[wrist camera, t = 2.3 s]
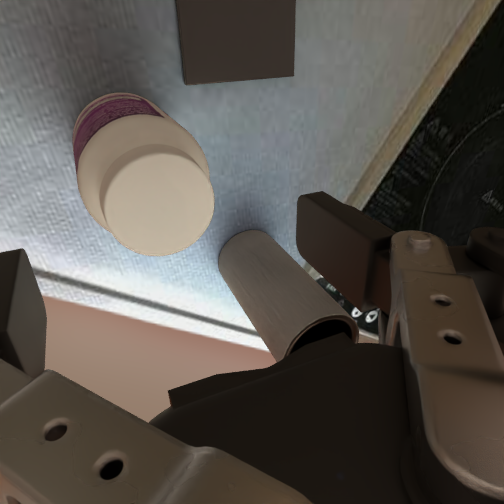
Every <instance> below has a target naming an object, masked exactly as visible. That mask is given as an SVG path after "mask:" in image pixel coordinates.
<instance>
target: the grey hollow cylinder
mask: <svg viewBox="0 0 504 504" xmlns="http://www.w3.org/2000/svg"><path fill="white" fill-rule="evenodd" d="M218 266H219V271H220V273H221V275H222V277H223V279H224V281H225V282H226V284H227V285H228V287H229V288H230V290H231V291H232V293H233V295H234V296H235V298H236V299H237V301H238V302H239V304H240V305H241V307H242V309H243V310H244V312H245V313H246V315H247V316H248V318H249V319H250V321H251V323H252V324H253V326H254V327H255V329H256V330H257V332H258V333H259V335H260V337H261V338H262V340H263V341H264V343H265V344H266V346H267V347H268V349H269V351H270V352H271V354H272V355H273V357H274V358H275V360H276V361H277V362H279V361H280V360H282V359H283V358H285V357H287V356H288V355H290V354H291V353H293V352H295V351H296V350H298V349H300V348H301V347H303V346H304V345H306V344H309V343H312V342H315V341H318V340H321V339H324V338H327V337H330V336H333V335H336V334H339V333H342V332H344V333H345V334H346V335H347V336H348V337H349V338H350V339H351V340H352V341H353V342H354V343H358V340H359V329H358V326H357V324H356V322H355V321H354V320H353V318H352V317H351V316H350V315H349V314H348V313H347V312H346V311H345V310H344V309H343V308H342V307H341V306H340V305H339V304H338V303H337V302H336V301H335V300H334V299H333V298H332V297H331V296H330V295H329V294H328V293H327V292H326V291H325V290H324V289H323V288H322V287H321V286H320V285H319V284H318V283H317V282H316V281H315V280H314V279H313V278H312V277H311V276H310V275H309V274H308V273H307V272H306V271H305V270H304V269H303V268H302V267H301V266H300V265H299V264H298V263H297V262H296V261H295V260H294V259H293V258H292V257H291V256H290V255H289V254H288V253H287V252H286V251H285V250H284V249H283V248H282V247H281V246H280V245H279V244H278V243H277V242H276V241H275V240H274V239H273V238H272V237H270V236H269V235H268V234H267V233H265V232H262V231H259V230H248V231H244V232H241V233H239V234H237V235H235V236H234V237H232V238H231V239H230V240H229V241H228V242H227V243H226V244H225V246H224V247H223V249H222V251H221V253H220V256H219V261H218Z"/></svg>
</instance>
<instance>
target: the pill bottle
mask: <svg viewBox="0 0 504 504" xmlns="http://www.w3.org/2000/svg"><path fill="white" fill-rule="evenodd" d="M73 152H74V159H75V166H76V174H77V183H78V189H79V192H80V195H81V198H82V200H83V203H84V205H85V207H86V208H87V210H88V212H89V213H90V215H91V216H92V217H93V218H94V219H95V221H96V222H97V223H98V224H100V225H101V226H102V227H103V228H105V229H106V230H107V231H109V232H111V233H112V234H113V236H114V237H115V238H116V239H117V240H118V241H119V242H120V243H121V244H122V245H123V246H125V247H126V248H128V249H130V250H132V251H134V252H136V253H139V254H143V255H148V256H165V255H170V254H173V253H176V252H179V251H182V250H184V249H186V248H187V247H189V246H191V245H192V244H193V243H194V242H196V241H197V240H198V239H199V238H200V237H201V235H202V234H203V233H204V232H205V230H206V229H207V227H208V226H209V224H210V221H211V219H212V216H213V212H214V204H215V203H214V192H213V188H212V185H211V182H210V176H209V168H208V163H207V160H206V158H205V155H204V153H203V151H202V149H201V147H200V146H199V144H198V143H197V141H196V140H195V139H194V137H193V136H192V135H191V134H190V133H189V132H188V131H187V130H186V129H184V128H183V127H182V126H180V125H179V124H178V123H177V122H176V121H174V120H173V119H172V118H170V117H169V116H168V115H167V114H166V113H165V112H164V111H162V110H161V109H159V108H158V107H157V106H156V105H155V104H153V103H152V102H150V101H149V100H147V99H145V98H143V97H141V96H138V95H135V94H131V93H120V92H119V93H111V94H107V95H104V96H101V97H99V98H97V99H95V100H94V101H92V102H91V103H90V104H88V105H87V106H86V107H85V108H84V109H83V111H82V112H81V113H80V115H79V117H78V119H77V121H76V123H75V127H74V131H73Z"/></svg>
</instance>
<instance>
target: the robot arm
mask: <svg viewBox="0 0 504 504" xmlns="http://www.w3.org/2000/svg"><path fill="white" fill-rule="evenodd" d="M296 244H297V248H298V251H299V253H300V255H301V256H302V257H303V258H304V259H305V260H306V261H307V262H308V263H309V264H310V265H311V266H312V267H313V268H314V269H315V270H317V271H318V272H319V273H320V274H321V275H322V276H323V277H324V278H325V279H326V280H327V281H328V282H329V283H330V284H331V285H333V286H334V287H335V288H336V289H337V290H338V291H339V292H340V293H341V294H342V295H343V296H344V297H345V298H346V299H348V300H349V301H350V302H351V303H352V304H353V305H354V306H355V307H356V308H357V309H358V310H359V311H360V312H365V311H368V310H371V309H374V308H377V307H379V308H380V311H379V317H378V329H379V344H375V343H354V342H353V341H352V340H351V339H350V338H349V337H348V336H347V335H346V334H345V333H344V332H342V333H339V334H336V335H333V336H330V337H327V338H324V339H321V340H318V341H315V342H312V343H309V344H306V345H304V346H303V347H301V348H300V349H298V350H296V351H295V352H293V353H291V354H290V355H288V356H287V357H285V358H283V359H282V360H280V361H279V362H277V363H275V364H274V365H272V366H270V367H268V368H264V369H256V370H248V371H240V372H232V373H225V374H216V375H213V376H210V377H207V378H204V379H201V380H198V381H195V382H192V383H189V384H186V385H183V386H180V387H177V388H174V389H171V390H169V391H168V393H169V399H170V404H171V407H169V408H168V409H166V410H164V411H163V412H161V413H160V414H159V415H157V416H156V417H155V418H153V419H152V420H151V421H150V422H149V423H147V422H146V421H144V420H142V419H140V418H138V417H137V416H135V415H133V414H131V413H129V412H127V411H125V410H124V409H122V408H120V407H119V406H117V405H115V404H113V403H111V402H109V401H108V400H106V399H104V398H102V397H100V396H99V395H97V394H95V393H93V392H92V391H90V390H88V389H86V388H84V387H82V386H80V385H79V384H77V383H75V382H74V381H72V380H70V379H68V378H66V377H65V376H62V375H61V374H59V373H57V372H55V371H53V370H45V371H44V368H45V346H46V345H45V344H46V324H47V317H46V310H45V305H44V301H43V298H42V295H41V292H40V289H39V287H38V284H37V281H36V278H35V276H34V273H33V270H32V267H31V264H30V262H29V259H28V256H27V254H26V252H25V250H24V249H23V248H22V249H16V250H11V251H6V252H1V253H0V504H504V229H502V228H496V227H480V228H476V229H474V230H472V231H471V233H470V236H469V240H468V244H467V245H465V246H447V245H446V243H445V242H444V241H443V240H442V239H441V238H439V237H437V236H435V235H433V234H430V233H426V232H421V231H402V232H399V233H396V232H395V231H393V230H391V229H390V228H388V227H386V226H385V225H383V224H381V223H380V222H378V221H376V220H373V218H371V217H370V216H368V215H364V213H363V212H361V211H360V210H358V209H356V208H355V207H352V206H349V205H346V204H343V203H341V202H340V201H338V200H337V199H335V198H333V197H332V196H330V195H328V194H327V193H325V192H323V191H320V192H315V193H310V194H305V195H301V196H300V197H299V198H298V201H297V224H296Z"/></svg>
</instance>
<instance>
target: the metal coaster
mask: <svg viewBox="0 0 504 504" xmlns="http://www.w3.org/2000/svg"><path fill="white" fill-rule="evenodd" d="M176 7H177V16H178V26H179V35H180V44H181V54H182V63H183V73H184V82H185V85H197V84H209V83H221V82H232V81H244V80H256V79H267V78H279V77H291V76H294V51H295V7H296V0H176Z"/></svg>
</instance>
